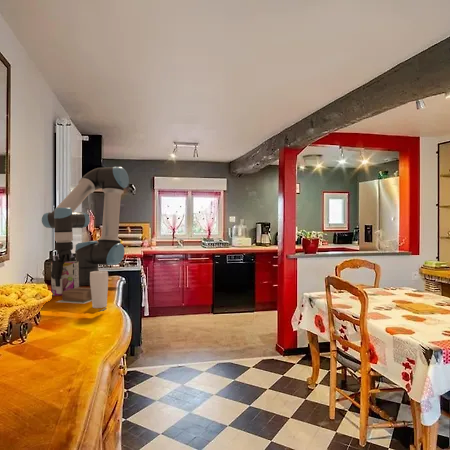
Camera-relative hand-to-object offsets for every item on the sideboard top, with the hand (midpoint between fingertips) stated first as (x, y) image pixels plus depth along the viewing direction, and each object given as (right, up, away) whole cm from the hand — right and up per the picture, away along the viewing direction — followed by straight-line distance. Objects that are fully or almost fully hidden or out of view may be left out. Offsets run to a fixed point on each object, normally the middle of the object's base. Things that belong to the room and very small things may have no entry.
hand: (65, 291), depth 176 cm
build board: (+11, -3, -11) cm, 16 cm away
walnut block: (+11, -1, -12) cm, 16 cm away
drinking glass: (+24, -3, -25) cm, 35 cm away
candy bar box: (0, -3, 0) cm, 3 cm away
